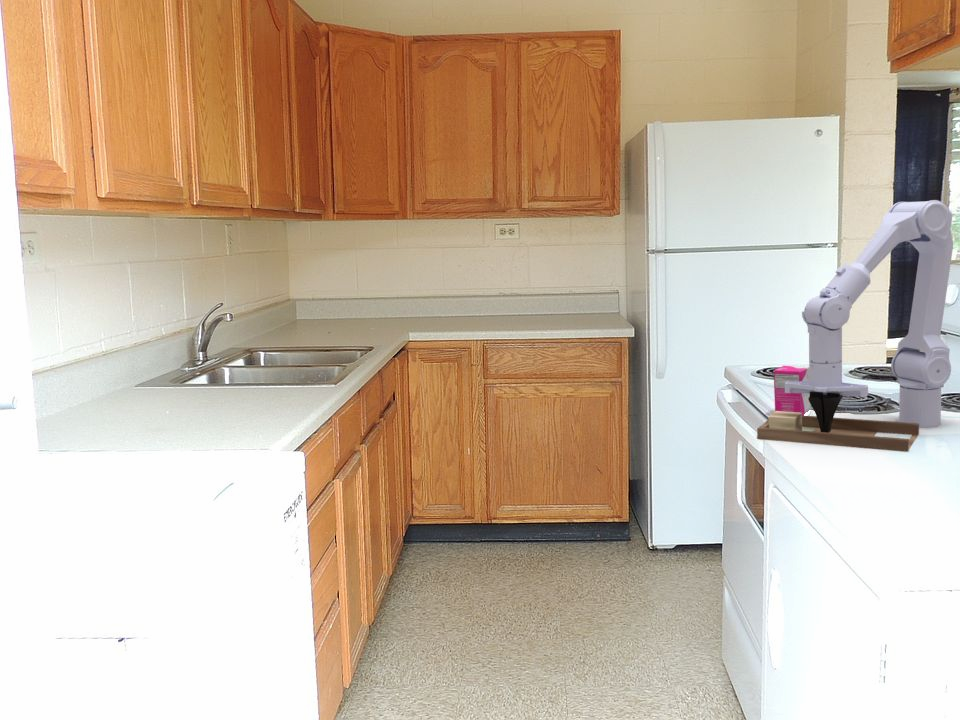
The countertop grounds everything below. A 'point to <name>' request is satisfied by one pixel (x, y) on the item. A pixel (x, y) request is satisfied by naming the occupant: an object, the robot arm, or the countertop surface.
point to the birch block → (786, 420)
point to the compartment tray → (846, 433)
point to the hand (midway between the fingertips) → (825, 431)
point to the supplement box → (791, 400)
